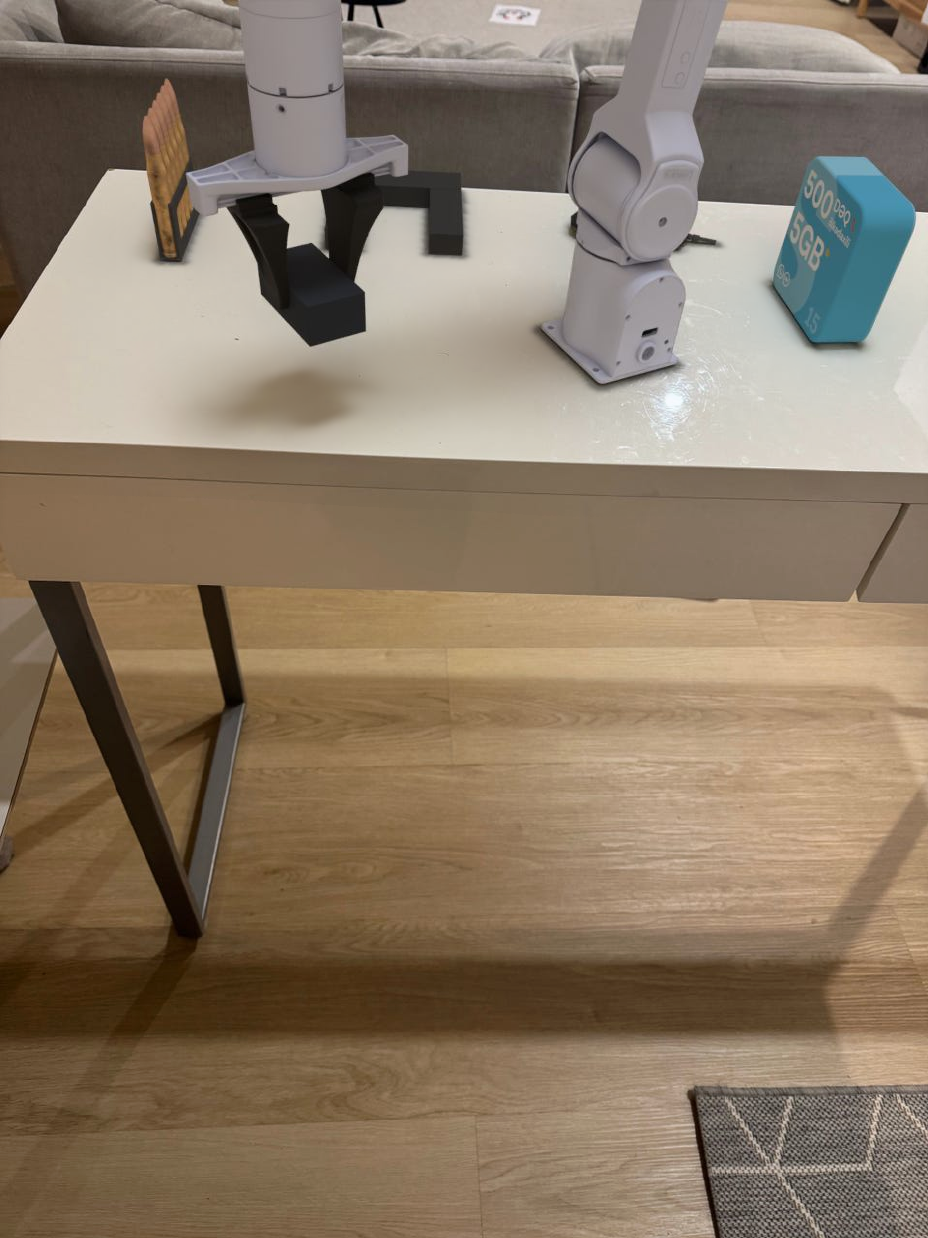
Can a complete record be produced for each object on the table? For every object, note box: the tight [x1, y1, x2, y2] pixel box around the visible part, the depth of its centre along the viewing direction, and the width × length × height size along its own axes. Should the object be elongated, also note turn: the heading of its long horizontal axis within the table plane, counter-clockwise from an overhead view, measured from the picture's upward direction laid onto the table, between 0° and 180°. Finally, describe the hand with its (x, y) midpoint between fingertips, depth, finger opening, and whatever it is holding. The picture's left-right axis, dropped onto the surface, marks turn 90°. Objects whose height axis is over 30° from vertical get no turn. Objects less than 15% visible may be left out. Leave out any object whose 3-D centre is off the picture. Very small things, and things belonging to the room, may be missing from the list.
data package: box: [773, 155, 917, 343], centre depth 78 cm, size 12×4×12 cm, turn 6°
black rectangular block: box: [256, 242, 367, 348], centre depth 64 cm, size 8×4×3 cm, turn 33°
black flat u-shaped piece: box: [324, 169, 464, 256], centre depth 90 cm, size 14×13×2 cm
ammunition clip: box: [142, 78, 200, 262], centre depth 82 cm, size 11×2×12 cm, turn 1°
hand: (311, 294), depth 64 cm, fingers closed on black rectangular block, 4 cm apart
